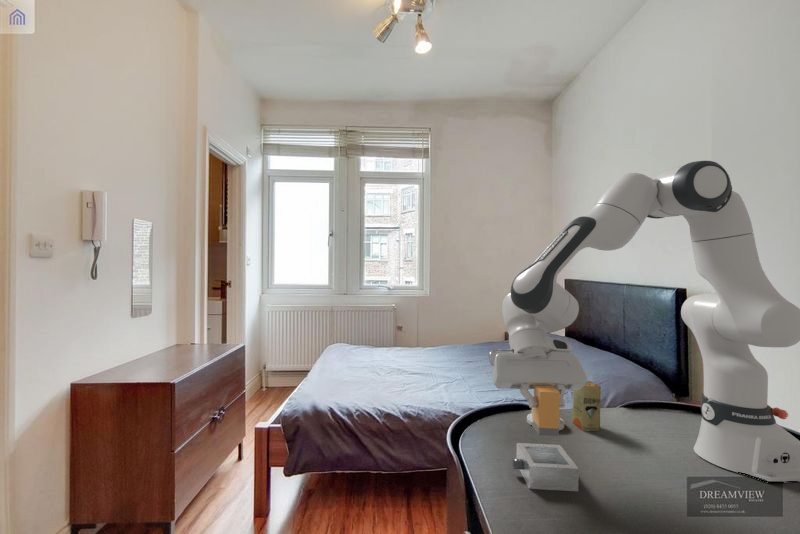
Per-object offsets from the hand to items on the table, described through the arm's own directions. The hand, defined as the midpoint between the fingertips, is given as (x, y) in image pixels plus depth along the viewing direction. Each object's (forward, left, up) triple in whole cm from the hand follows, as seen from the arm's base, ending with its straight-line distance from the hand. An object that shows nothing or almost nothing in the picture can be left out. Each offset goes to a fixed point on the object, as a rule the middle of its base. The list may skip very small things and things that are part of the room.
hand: (547, 407), depth 76 cm
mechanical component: (-9, -28, -15) cm, 33 cm away
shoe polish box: (-20, -27, -15) cm, 37 cm away
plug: (0, -1, -5) cm, 5 cm away
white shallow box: (0, -1, -15) cm, 15 cm away
